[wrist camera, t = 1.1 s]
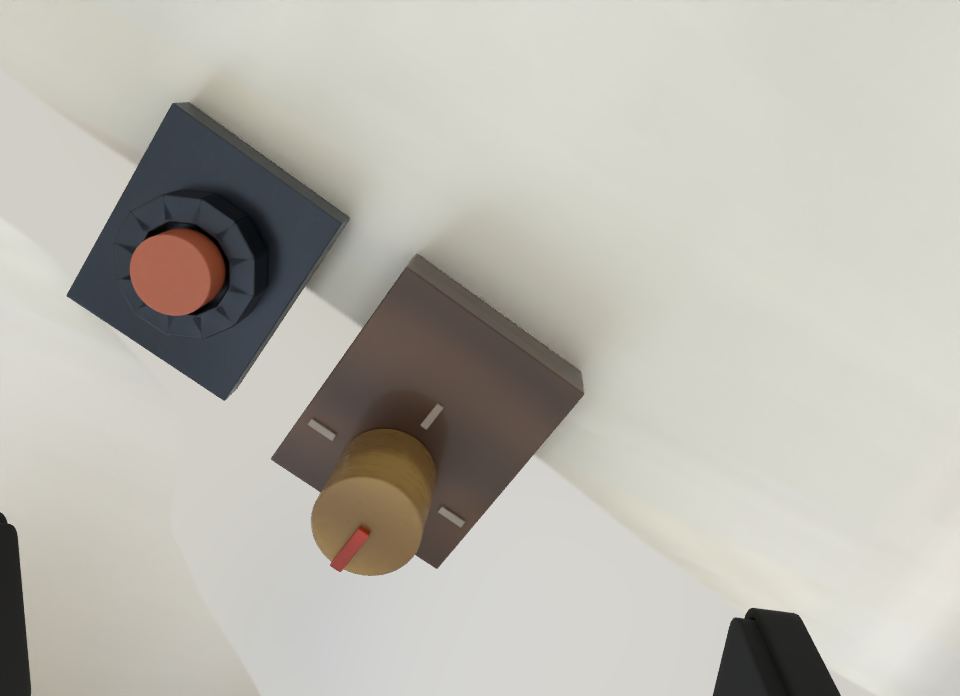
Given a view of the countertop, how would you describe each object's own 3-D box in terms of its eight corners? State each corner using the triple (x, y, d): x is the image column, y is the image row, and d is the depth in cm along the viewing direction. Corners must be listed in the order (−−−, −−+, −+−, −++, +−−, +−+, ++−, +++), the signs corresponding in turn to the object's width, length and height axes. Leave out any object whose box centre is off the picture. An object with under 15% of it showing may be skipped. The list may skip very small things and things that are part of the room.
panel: (416, 252, 38) (405, 267, 35) (581, 372, 39) (585, 395, 36) (274, 454, 42) (253, 482, 39) (428, 556, 43) (419, 591, 40)
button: (171, 211, 35) (153, 217, 33) (240, 259, 35) (225, 267, 34) (134, 275, 36) (114, 284, 34) (202, 320, 36) (185, 332, 35)
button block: (188, 101, 36) (153, 103, 33) (350, 217, 37) (331, 230, 34) (85, 287, 40) (43, 305, 36) (236, 389, 41) (209, 415, 37)
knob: (373, 409, 37) (347, 459, 32) (456, 465, 38) (443, 523, 33) (320, 480, 39) (287, 539, 34) (401, 534, 39) (380, 600, 34)
